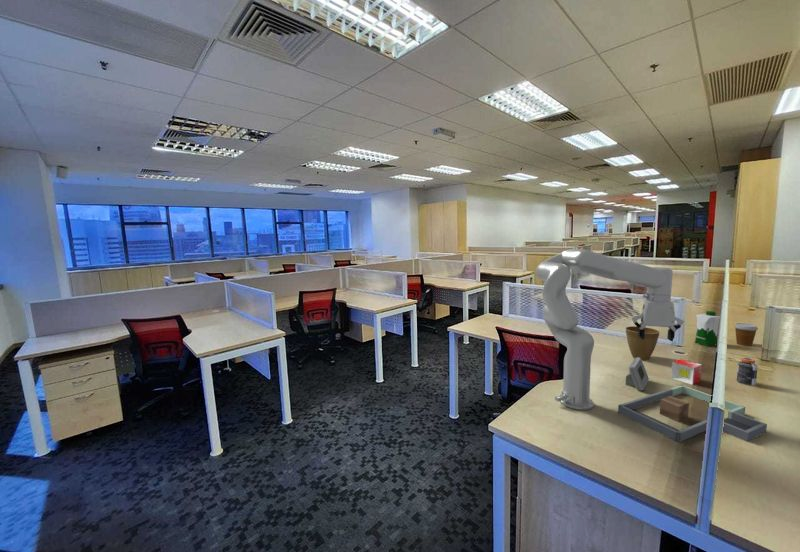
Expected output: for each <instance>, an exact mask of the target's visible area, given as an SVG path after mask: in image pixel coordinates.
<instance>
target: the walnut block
mask: <svg viewBox="0 0 800 552" xmlns="http://www.w3.org/2000/svg"><path fill="white" fill-rule="evenodd" d="M659 402H660V403H659V414H660V416H662V417H663V416H664V417H666V418H668V419H671V420H673V421H675V422H677V423H679V422H682V421H684V419H685V420H687V419H689V413H690V412H689V410H690V409H689V407H690V403H689V402H687V401H685V400H682V399H680V398H677V397H674V396H669V397H666V398H663V399H661V400H660V401H659Z"/></svg>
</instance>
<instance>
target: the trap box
mask: <svg viewBox="0 0 800 552" xmlns="http://www.w3.org/2000/svg"><path fill="white" fill-rule="evenodd" d="M681 394H684V395H687V396H689V397H693V398H696V399H698V400H701V401H703V400H705V401H704V402H706V401H707V402H706V403H709V404H711V403H710V401H711V396H713V395H711V394H710V393H709V394H708V393H706V392H703V391H701V390H698V389H694V388H692V387H689V386H686V385H684V384H680V385H677V386H673V387H671V388H669V389H664V390H662V391H659V392H655V393H653V394H649V395H646V396H642V397H640V398H637V399H633V400H631V401H627V402H624V403H620V404H618V406H617V407H618V409H617V413H619V414H621V415H623V416H625V417H627V418H629V419H630V420H633V421H635V422H637V423H639V424H641V425H643V426H645V427H647V428H649V429H650V430H653V431H655V432H657V433H659V434H661V435H663V436H665V437H667V438H669V439H672V440H673V441H675V442H677V443H680V442H682V441H685V440H687V439H690V438H693V437H695V436H696V434H697V435H699V434H698V433H700V432H702V431H704V432H706V424H707V419H706V420H702V421H700V422H698V423H695V424H693V425H690V426H688V427H685V428H683V429H680V430H679V429H677V428H675V427H674V426H671V425H669V424H667V423H665V422H662V421H661V420H659V419H656V418H654V417H652V416H649V415H648V414H646V413H643V412H641V411H639V410H637V409H639V408H642V407H645V406H647V405H651V404H655V403H657V402H660V400H661V399H663V398H666V397H669V396H672V397H674V396H678V395H681ZM724 400H725V408H724V409H726V410H728V409H730V410H728V411H727V417H726V418H724V427H723V431H722V432H724V433H726V434H729V435H730V434H731V436H733V437H736V438H738V439H740V440H742V441H745V442H749V441H751V440H753V439H755V438H757V437H759V436H761V435H760V434H762V435H764V434H766V433H767V428H768V427H767V426H768V424H767V423H765V422H762V421H759V420H756V419H755V418H751V417H749V416H746V415H745V414H746V406H743V405H741V404H738V403H735V402H732V401H729V400H727V399H724ZM765 432H766V433H765ZM702 433H703V432H702ZM763 433H764V434H763ZM700 434H701V433H700ZM694 435H695V436H694ZM758 435H759V436H758ZM756 436H757V437H756ZM752 438H753V439H752Z"/></svg>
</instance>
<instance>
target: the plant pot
mask: <svg viewBox="0 0 800 552" xmlns="http://www.w3.org/2000/svg"><path fill="white" fill-rule="evenodd" d="M638 329H639V328H638V327H637V326H636V325H633V326H626V327H625V333H626V340H627V344H628V347H629V351H630V354H631V356H632V357H633V358H634V359H635V358H637V357H639V358H641V360H642V361H648V360H649V359H650V358H651V356H652V355H653V353H654V351H655V348H656V347H657V343H658V340H659V336H660V330H657V329H656V328H652V327H648V326H646V327H645V328H644V330H645V333H644V339H641V338H640V337H639V336H638Z"/></svg>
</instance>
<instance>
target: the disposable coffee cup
mask: <svg viewBox="0 0 800 552" xmlns="http://www.w3.org/2000/svg"><path fill="white" fill-rule="evenodd" d="M734 324H735V325H734V330H735V339H736V341H735V342H736V344H737V345H738V346H744V347H753V344H754V340H755V337H756V333H757V331H758V329H759V328H758V325H756V324H752V323H751V324H750V323H745V322H744V323H743V322H740V323H739V322H738V323H737V322H736V323H734Z"/></svg>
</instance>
